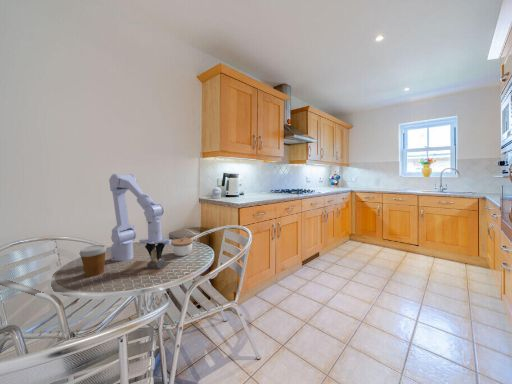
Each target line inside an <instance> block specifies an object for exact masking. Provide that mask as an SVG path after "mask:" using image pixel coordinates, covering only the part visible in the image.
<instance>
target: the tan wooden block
mask: <svg viewBox="0 0 512 384" xmlns="http://www.w3.org/2000/svg"><path fill="white" fill-rule="evenodd" d="M161 258H162V257H161ZM161 258H160V259H159V260H157V251H156V248H155V249H154V250H152V251H151V257H150V261H151V262H152V263H157V262H158V261H160V260H161Z"/></svg>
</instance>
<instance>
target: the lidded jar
mask: <svg viewBox="0 0 512 384" xmlns="http://www.w3.org/2000/svg"><path fill="white" fill-rule="evenodd" d="M171 249H172V252H173V254H174V255H175V256H177V257H184V256H187V255H189V254H190V253H191V252H192V249H193V239H191V238H185V237H181V238H178V239H177V238H176V239H175V240H171Z"/></svg>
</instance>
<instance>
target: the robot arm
mask: <svg viewBox="0 0 512 384" xmlns="http://www.w3.org/2000/svg"><path fill="white" fill-rule="evenodd" d="M108 182H109V188H110V192H112V198H113V207H114V213H115V221H116V225H115V227H112V229H111V235H110V236H111V237H110V238H111V241H112V245H111V246H110V261H118V262H124V261H125V262H126V261H129V260H132V259H134V242H135V239H136V237H137V232H136V230H135V226H134V224H131V223H130V221H129V213H128V209H127V208H128V206H127V202H126V201H127V200H126V192H127V191H130V192H131V193H132V194H133V195H134V197H136V202H137V204H138V205H139V206H140V207H141V209H143V214H144V217H145V220H146V222H147V238H140V239H139V241H138V243H139V245H142V244H143V245H144V244H145V245H144V248H145V249H146V251H147V252H148V254H149V257H150V258H151V251H152V250H154V249H156V251H157V260H159V259H160V258H162V254H163V250H164V248H165V246H166V245H169V246H170V245H172V239H170V238H169V239H168V238H163V235H162V216H163V214H164V207H163V206H162V204H160V203H157V202H155V200H153V198H152V197H151V196H150V194H148V193H144V191H143V190H142V189H141V188H140V186H139V184H138V183H137V177H136V176H135V175H134V174H132V173H130V174H129V173H127V174H115V173H113V174H111V176H110V177H109V179H108Z"/></svg>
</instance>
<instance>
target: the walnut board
mask: <svg viewBox="0 0 512 384" xmlns="http://www.w3.org/2000/svg"><path fill="white" fill-rule="evenodd" d="M149 261H150V260H135V261H134V262H132V263H131V264H129V265H128V266H126V267H125V268H123V269H121V270H120V271H118V272H116V274H117V275H150V276H153V275H154V276H157V275H159V274H160V272H162V271H163V270H164V269H165V268H166V267H168V265H169V264H171V263H172V261H166V262H167V263H166V264H165V265H164V266H163V267H162V268H160V269H145V267H146V266H147V263H148V262H149Z"/></svg>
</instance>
